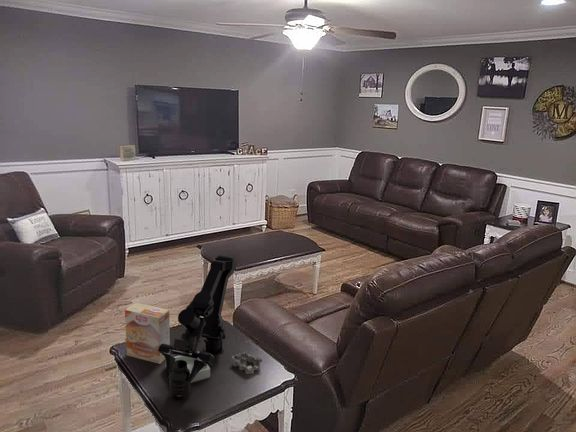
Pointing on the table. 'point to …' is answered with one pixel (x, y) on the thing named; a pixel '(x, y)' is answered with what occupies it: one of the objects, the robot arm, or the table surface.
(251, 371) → the egg carton
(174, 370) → the supplement bottle
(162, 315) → the coffeecake box
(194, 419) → the table surface
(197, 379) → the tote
